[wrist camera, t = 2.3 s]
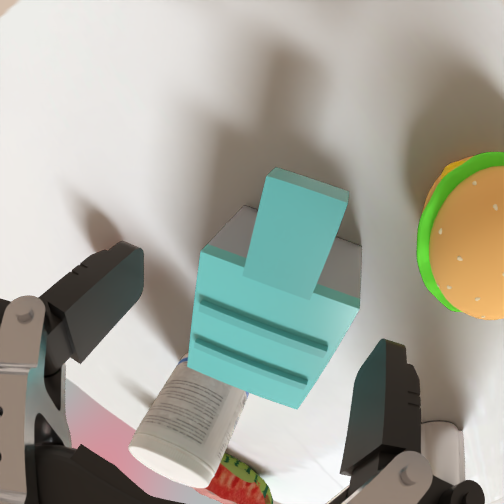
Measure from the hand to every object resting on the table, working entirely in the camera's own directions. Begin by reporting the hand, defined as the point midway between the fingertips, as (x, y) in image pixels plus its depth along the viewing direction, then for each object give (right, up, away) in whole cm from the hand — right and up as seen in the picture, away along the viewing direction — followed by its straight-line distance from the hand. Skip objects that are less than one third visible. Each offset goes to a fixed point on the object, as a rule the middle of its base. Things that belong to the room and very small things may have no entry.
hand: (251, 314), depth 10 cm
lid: (+1, -1, +12) cm, 12 cm away
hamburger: (+17, +5, +10) cm, 21 cm away
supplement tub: (-4, -13, +28) cm, 32 cm away
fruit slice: (-5, -39, +43) cm, 58 cm away
